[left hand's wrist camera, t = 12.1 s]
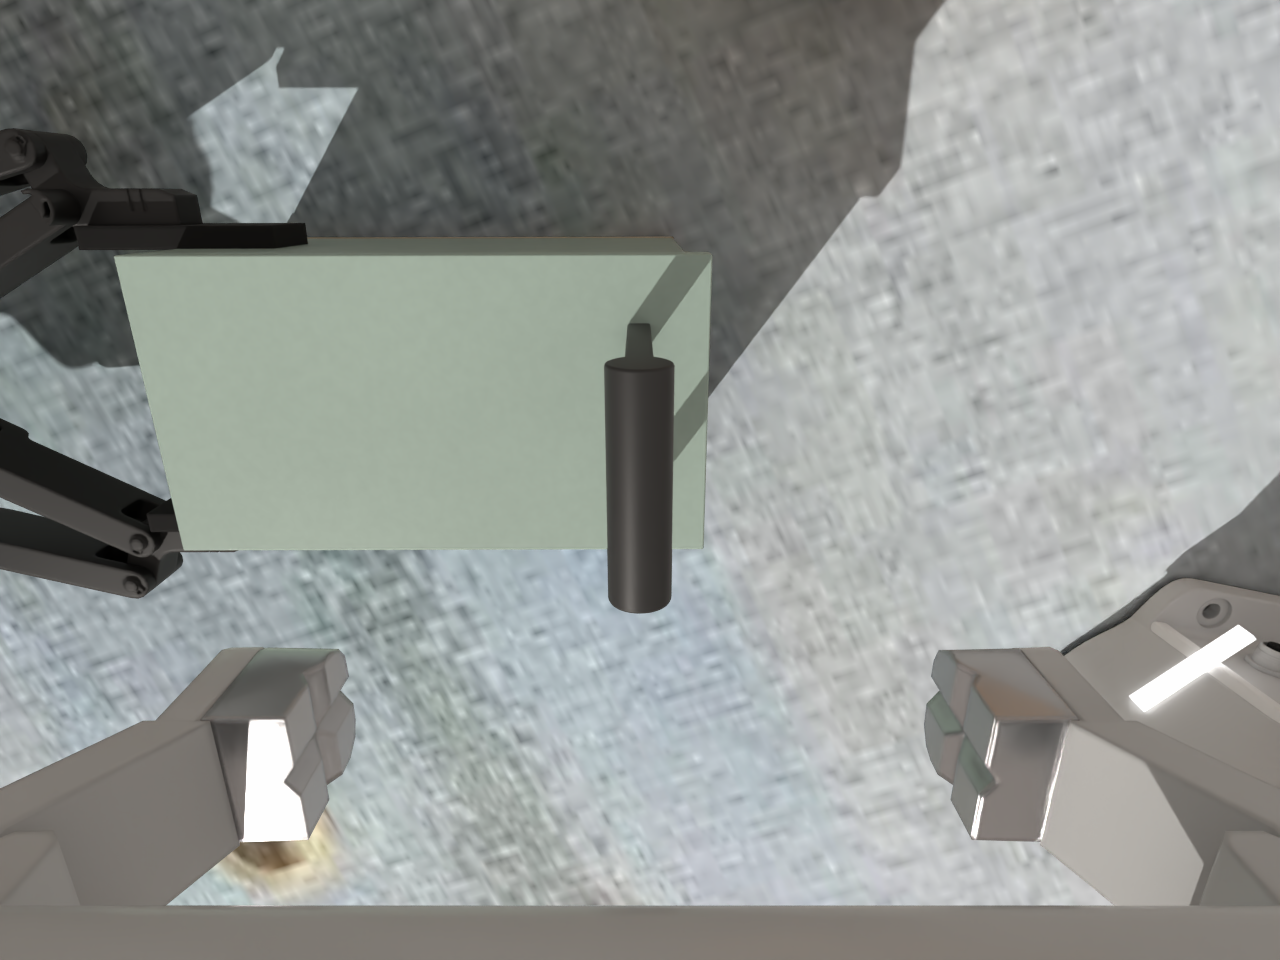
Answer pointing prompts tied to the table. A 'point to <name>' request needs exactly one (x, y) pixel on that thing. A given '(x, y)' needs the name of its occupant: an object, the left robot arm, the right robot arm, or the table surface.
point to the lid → (432, 401)
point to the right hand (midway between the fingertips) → (313, 380)
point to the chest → (463, 245)
